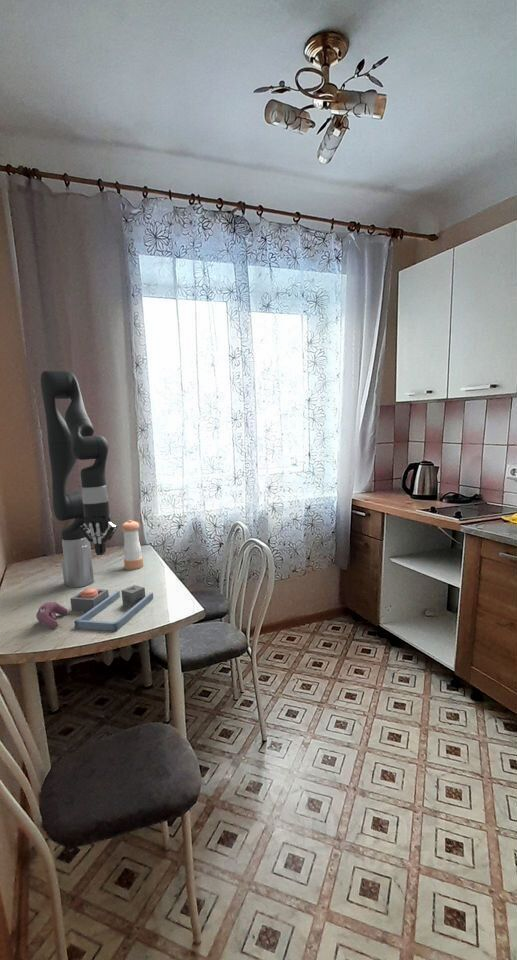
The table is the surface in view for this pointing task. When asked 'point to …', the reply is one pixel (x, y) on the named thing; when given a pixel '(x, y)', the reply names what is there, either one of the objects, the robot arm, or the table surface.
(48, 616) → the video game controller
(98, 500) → the robot arm
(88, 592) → the button
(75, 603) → the button housing
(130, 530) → the pepper shaker
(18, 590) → the table surface
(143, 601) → the track
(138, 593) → the gray cube
